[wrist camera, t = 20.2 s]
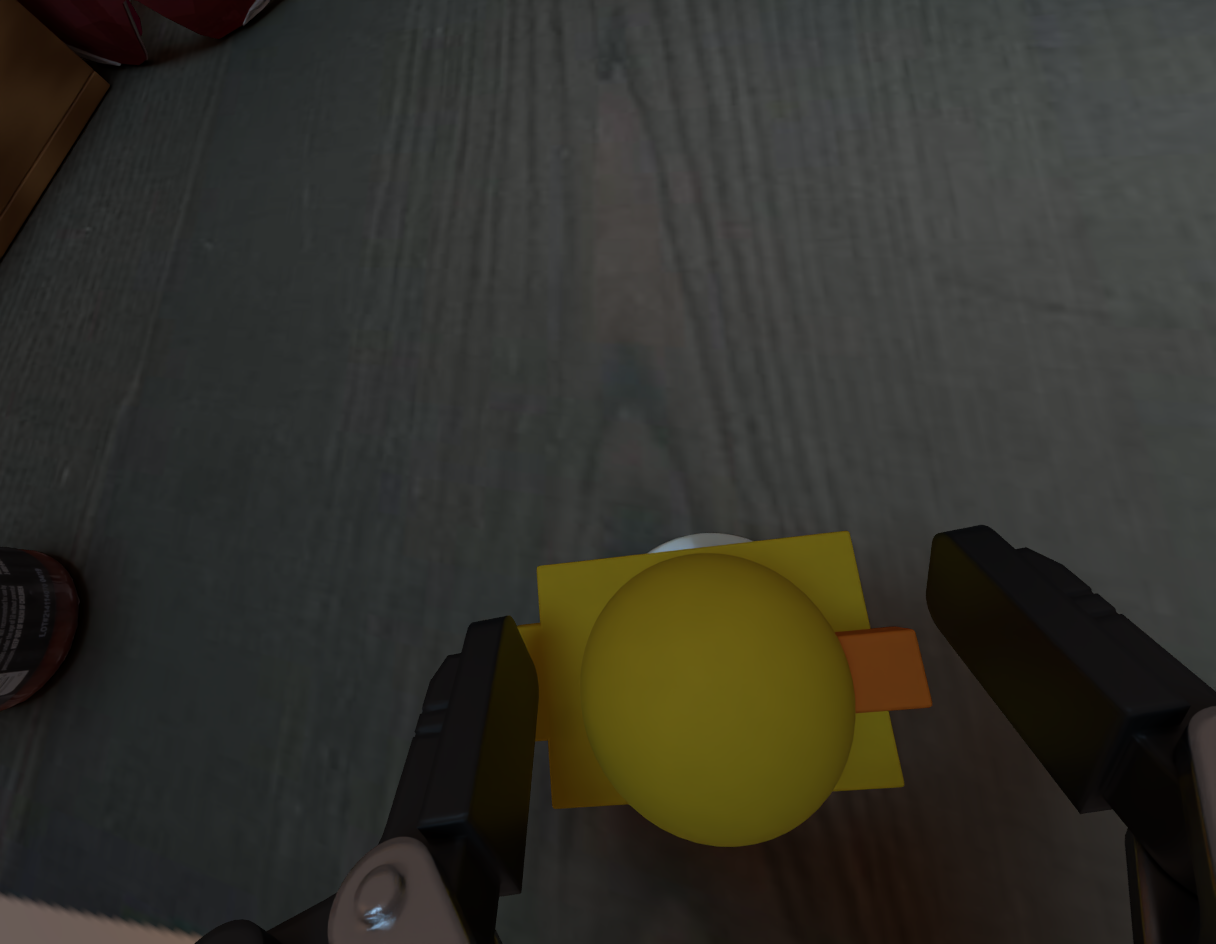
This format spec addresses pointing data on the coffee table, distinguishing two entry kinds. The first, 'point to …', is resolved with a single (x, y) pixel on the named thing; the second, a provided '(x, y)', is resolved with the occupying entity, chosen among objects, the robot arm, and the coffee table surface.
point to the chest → (37, 111)
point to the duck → (719, 685)
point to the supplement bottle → (33, 621)
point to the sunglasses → (133, 23)
